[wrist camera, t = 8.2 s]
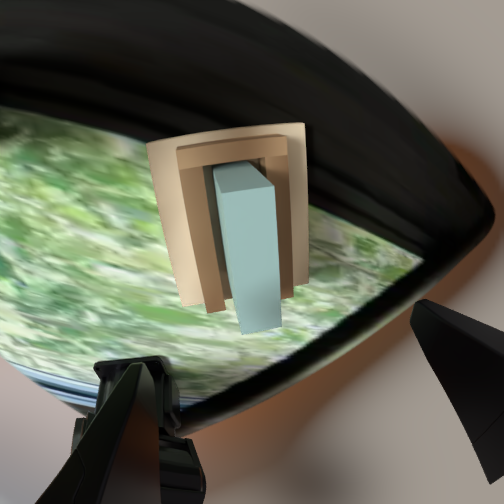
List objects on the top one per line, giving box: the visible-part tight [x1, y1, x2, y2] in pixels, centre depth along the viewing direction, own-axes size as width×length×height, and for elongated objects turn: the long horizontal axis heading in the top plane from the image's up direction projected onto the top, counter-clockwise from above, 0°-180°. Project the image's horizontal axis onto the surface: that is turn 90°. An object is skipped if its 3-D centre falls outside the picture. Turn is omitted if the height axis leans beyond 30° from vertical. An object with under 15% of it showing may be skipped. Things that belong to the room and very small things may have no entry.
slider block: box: [211, 160, 282, 335], centre depth 15 cm, size 2×7×6 cm, turn 5°
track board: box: [146, 122, 309, 313], centre depth 17 cm, size 9×11×3 cm
